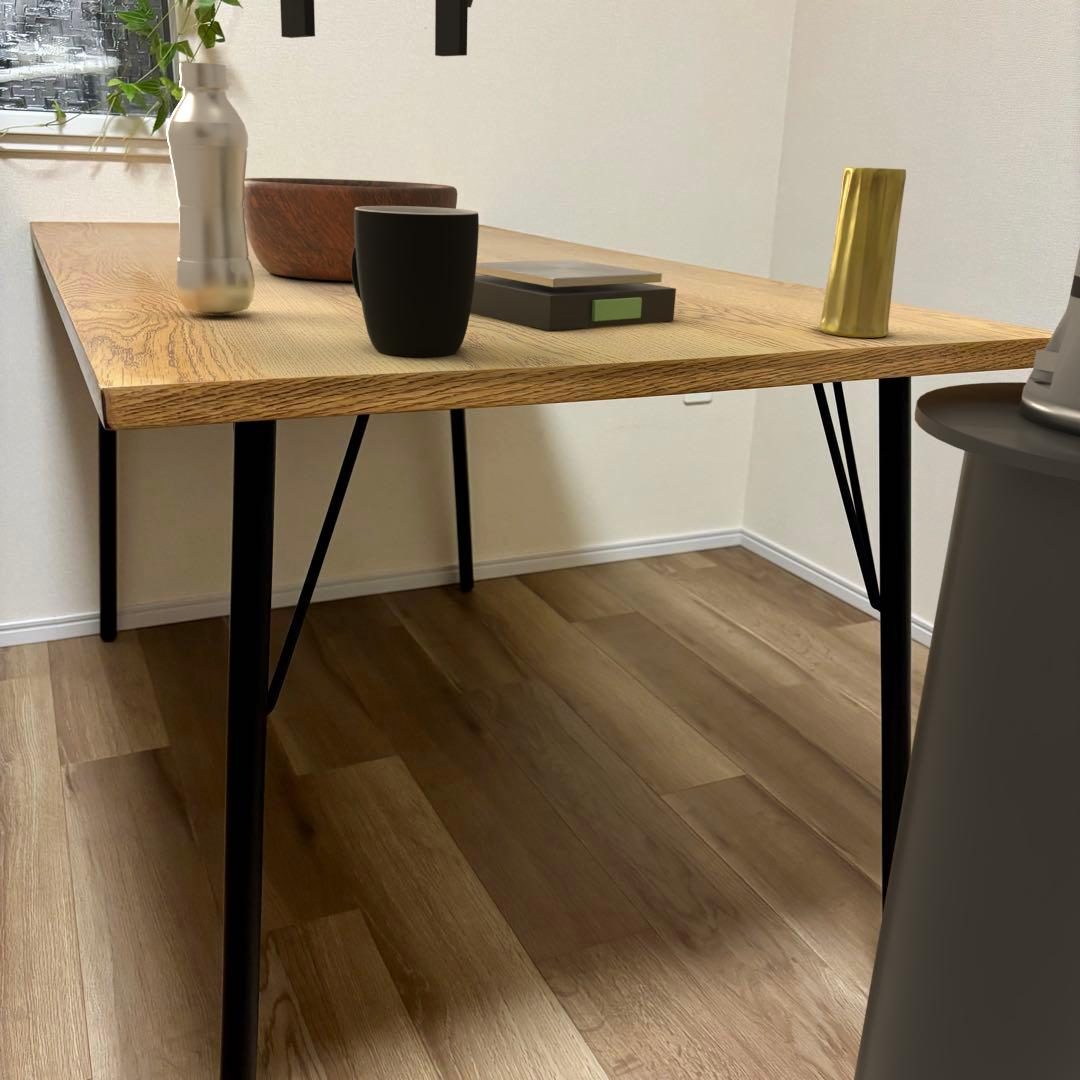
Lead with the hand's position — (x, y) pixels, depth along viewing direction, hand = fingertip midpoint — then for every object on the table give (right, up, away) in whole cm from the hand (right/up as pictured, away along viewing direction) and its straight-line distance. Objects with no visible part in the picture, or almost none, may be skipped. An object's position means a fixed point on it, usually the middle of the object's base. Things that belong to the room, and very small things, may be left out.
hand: (379, 47), depth 77 cm
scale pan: (+14, -10, +25) cm, 30 cm away
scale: (+13, -13, +27) cm, 33 cm away
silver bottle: (-17, -15, +18) cm, 29 cm away
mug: (+1, -20, +6) cm, 21 cm away
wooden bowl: (-11, -3, +52) cm, 54 cm away
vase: (+40, -16, +23) cm, 49 cm away
